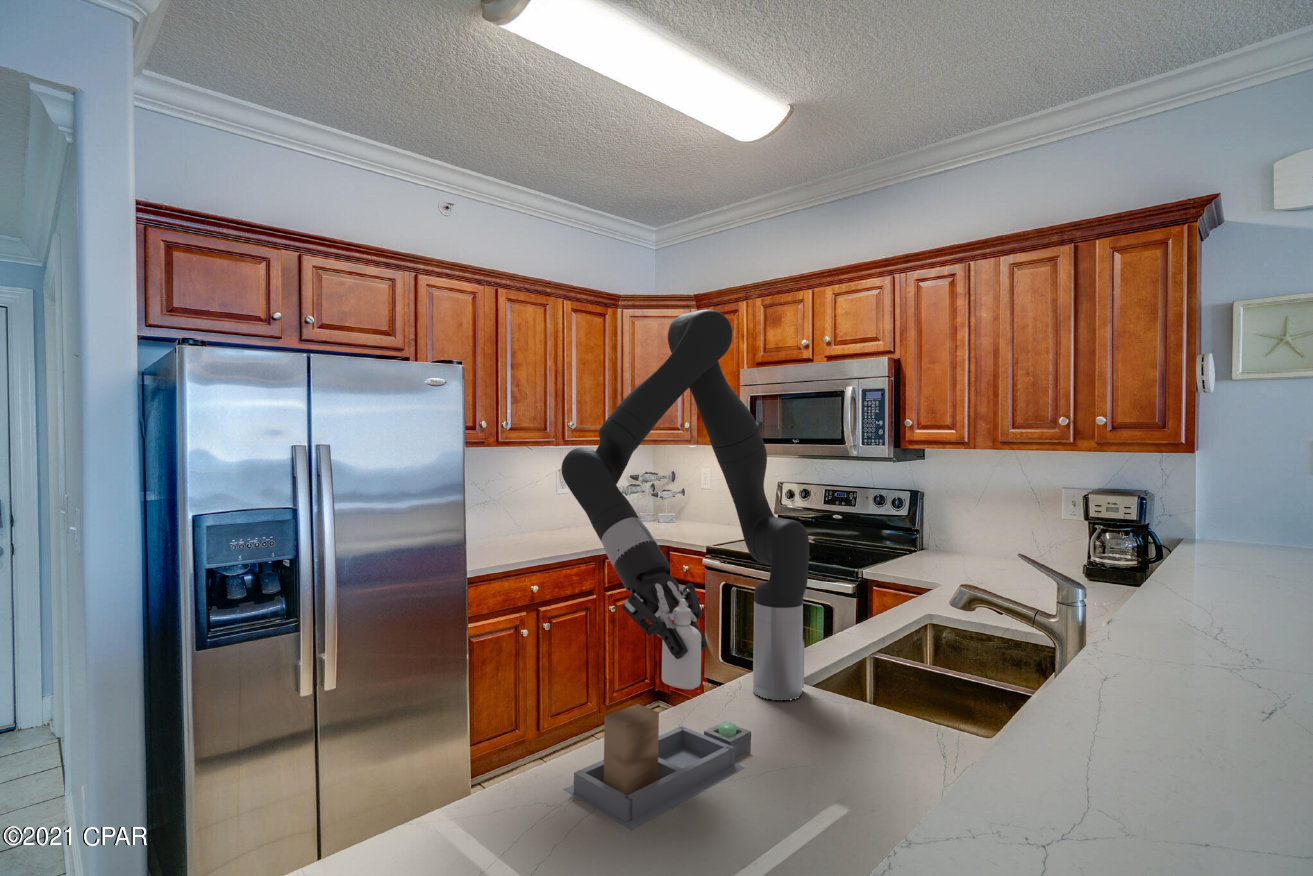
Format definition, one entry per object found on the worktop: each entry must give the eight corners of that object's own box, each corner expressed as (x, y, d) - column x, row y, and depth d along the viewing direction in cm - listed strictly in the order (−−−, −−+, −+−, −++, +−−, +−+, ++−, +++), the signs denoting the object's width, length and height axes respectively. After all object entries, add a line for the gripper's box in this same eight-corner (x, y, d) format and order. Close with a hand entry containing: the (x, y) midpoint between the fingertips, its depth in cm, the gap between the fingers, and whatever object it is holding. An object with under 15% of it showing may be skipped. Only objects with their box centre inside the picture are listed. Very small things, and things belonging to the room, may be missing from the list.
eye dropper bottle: (684, 675, 98) (686, 594, 98) (704, 688, 93) (705, 602, 93) (658, 679, 96) (660, 596, 96) (676, 693, 91) (678, 605, 91)
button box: (724, 747, 103) (724, 721, 103) (750, 758, 100) (750, 731, 100) (703, 757, 100) (704, 731, 100) (730, 769, 96) (730, 741, 96)
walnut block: (636, 777, 91) (637, 703, 91) (657, 788, 88) (658, 712, 88) (603, 793, 86) (604, 716, 86) (624, 805, 83) (625, 725, 84)
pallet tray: (676, 748, 103) (677, 722, 103) (744, 778, 94) (745, 749, 94) (563, 800, 87) (563, 769, 87) (631, 842, 78) (632, 808, 78)
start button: (725, 739, 102) (726, 720, 102) (739, 744, 100) (739, 726, 100) (715, 744, 100) (715, 725, 100) (728, 750, 98) (729, 731, 98)
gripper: (611, 543, 95) (672, 648, 86) (679, 535, 105) (739, 628, 96) (587, 574, 99) (642, 678, 90) (654, 564, 109) (710, 656, 100)
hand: (692, 652), depth 93 cm, fingers closed on eye dropper bottle, 3 cm apart
